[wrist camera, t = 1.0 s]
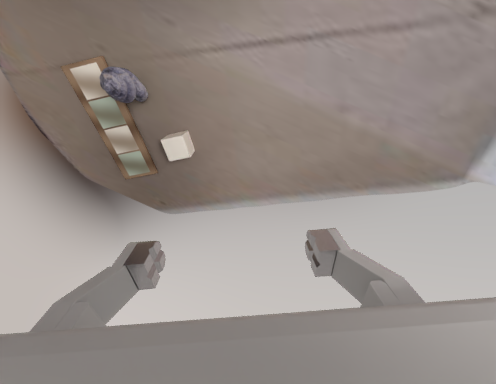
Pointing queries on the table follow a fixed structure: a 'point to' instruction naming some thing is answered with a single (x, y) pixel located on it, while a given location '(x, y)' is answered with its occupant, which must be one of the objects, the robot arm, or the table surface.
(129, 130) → the brown rectangular frame
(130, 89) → the seashell
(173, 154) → the cream white cube
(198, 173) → the table surface
